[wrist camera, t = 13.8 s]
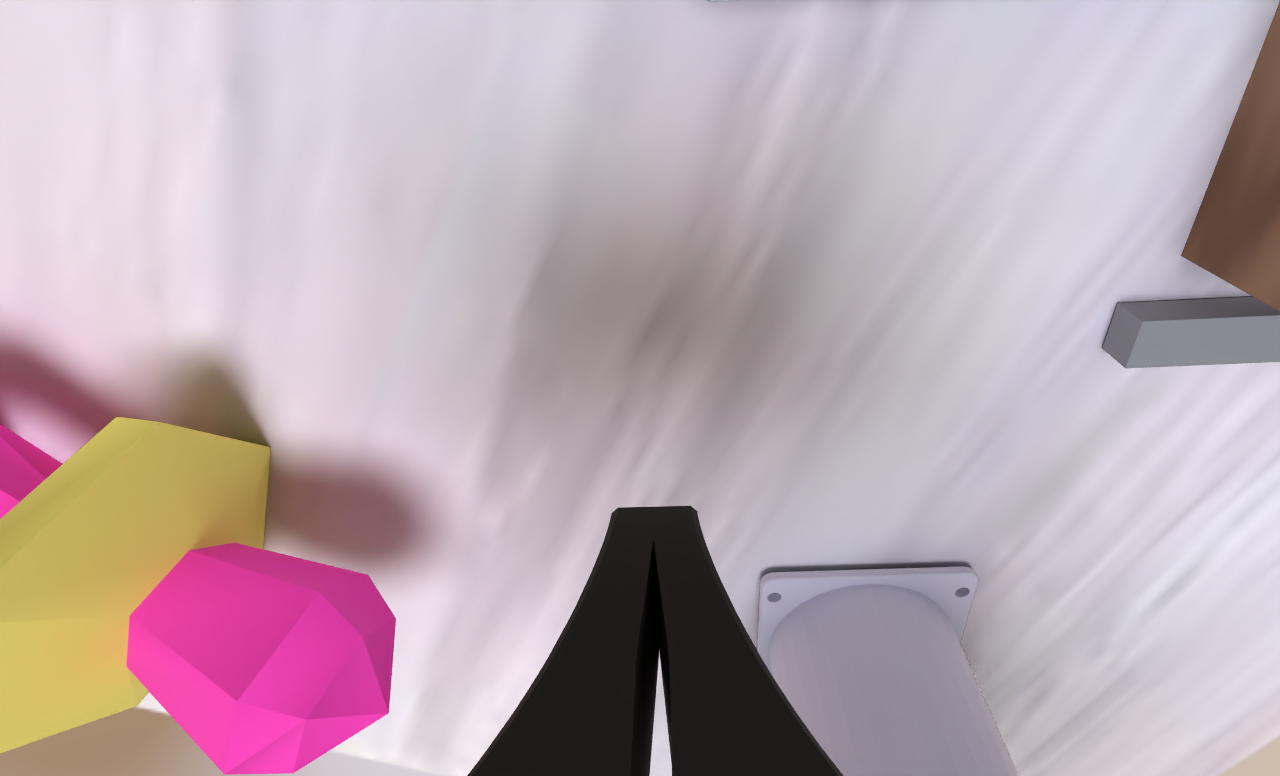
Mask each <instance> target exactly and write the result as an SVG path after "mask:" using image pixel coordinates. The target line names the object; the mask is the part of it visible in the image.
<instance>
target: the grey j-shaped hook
mask: <svg viewBox="0 0 1280 776" xmlns="http://www.w3.org/2000/svg"><path fill="white" fill-rule="evenodd" d="M707 1H709V2H719V1H734V0H707ZM1102 348H1103V349H1104V350H1105V351H1106V352H1107V353H1108V354H1110V355H1111V356H1112V357H1113V358H1114V359H1115V360H1116V361H1118V362H1119V363H1120V364H1121V365H1122V366H1123V367H1125V368H1144V367H1167V366H1191V365H1214V364H1237V363H1261V362H1280V311H1278V310H1276V309H1274V308H1273V307H1271V306H1269V305H1267V304H1266V303H1264V302H1262V301H1260V300H1259V299H1257V298H1255V297H1233V298H1212V299H1191V300H1169V301H1148V302H1127V303H1117V306H1116V309H1115V312H1114V315H1113V318H1112V321H1111V324H1110V327H1109V330H1108V333H1107V336H1106V338H1105V341H1104V344H1103V347H1102Z"/></svg>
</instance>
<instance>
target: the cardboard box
mask: <svg viewBox="0 0 1280 776" xmlns="http://www.w3.org/2000/svg"><path fill="white" fill-rule="evenodd" d="M1181 256H1183V257H1184V258H1186V259H1188V260H1190V261H1191V262H1193V263H1195V264H1197V265H1198V266H1200V267H1202V268H1204V269H1206V270H1207V271H1209V272H1211V273H1213V274H1214V275H1216V276H1218V277H1220V278H1221V279H1223V280H1225V281H1227V282H1229V283H1230V284H1232V285H1234V286H1236V287H1237V288H1239V289H1241V290H1243V291H1244V292H1246V293H1248V294H1250V295H1252V296H1253V297H1255V298H1257V299H1259V300H1260V301H1262V302H1264V303H1266V304H1267V305H1269V306H1271V307H1273V308H1274V309H1276V310H1278V311H1280V2H1279V5H1278V8H1277V10H1276V13H1275V15H1274V18H1273V21H1272V23H1271V26H1270V28H1269V31H1268V33H1267V36H1266V39H1265V41H1264V44H1263V46H1262V49H1261V51H1260V54H1259V57H1258V59H1257V62H1256V64H1255V67H1254V69H1253V72H1252V75H1251V77H1250V80H1249V82H1248V85H1247V87H1246V90H1245V93H1244V95H1243V98H1242V100H1241V103H1240V105H1239V108H1238V111H1237V113H1236V116H1235V118H1234V121H1233V123H1232V126H1231V129H1230V131H1229V134H1228V136H1227V139H1226V141H1225V144H1224V147H1223V149H1222V152H1221V154H1220V157H1219V160H1218V162H1217V165H1216V167H1215V170H1214V172H1213V175H1212V178H1211V180H1210V183H1209V185H1208V188H1207V190H1206V193H1205V196H1204V198H1203V201H1202V203H1201V206H1200V208H1199V211H1198V214H1197V216H1196V219H1195V221H1194V224H1193V226H1192V229H1191V232H1190V234H1189V237H1188V239H1187V242H1186V244H1185V247H1184V250H1183V252H1182V255H1181Z"/></svg>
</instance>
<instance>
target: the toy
mask: <svg viewBox="0 0 1280 776" xmlns="http://www.w3.org/2000/svg"><path fill="white" fill-rule="evenodd" d="M270 450H271V447H267V446H263V445H259V444H254V443H250V442H245V441H241V440H237V439H232V438H228V437H224V436H219V435H215V434H210V433H206V432H202V431H197V430H193V429H189V428H184V427H180V426H175V425H171V424H167V423H162V422H157V421H148V420H140V419H131V418H122V417H116V418H115V419H113V420H112V421H111V422H110V423H109V424H108V425H107V426H105V427H104V428H103V429H102V430H101V431H100V432H99V433H98V434H96V435H95V436H94V437H93V438H92V439H91V440H90V441H88V442H87V443H86V444H85V445H84V446H83V447H82V448H81V449H79V450H78V451H77V452H76V453H75V454H74V455H73V456H71V457H70V458H69V459H68V460H67V461H66V462H65V463H64V464H62V463H60V462H59V461H57V460H56V459H54V458H52V457H51V456H49V455H48V454H46V453H45V452H43V451H42V450H40V449H38V448H37V447H35V446H34V445H32V444H31V443H29V442H27V441H26V440H24V439H23V438H21V437H20V436H18V435H17V434H15V433H13V432H12V431H10V430H9V429H7V428H6V427H4V426H3V425H1V424H0V753H3V752H5V751H8V750H11V749H14V748H17V747H20V746H23V745H25V744H28V743H31V742H34V741H37V740H40V739H43V738H46V737H49V736H51V735H54V734H57V733H60V732H63V731H66V730H69V729H71V728H74V727H77V726H80V725H83V724H86V723H89V722H92V721H94V720H97V719H100V718H103V717H106V716H109V715H112V714H115V713H118V712H120V711H123V710H126V709H129V708H132V707H135V706H138V704H139V703H140V702H141V701H142V700H143V698H144V697H145V696H146V695H147V694H148V692H150V693H151V694H152V695H153V696H154V697H155V699H156V700H157V701H158V702H159V703H160V704H161V705H162V706H163V707H164V708H165V710H166V711H167V712H168V713H169V714H170V715H171V716H172V717H173V718H174V719H175V721H176V722H177V723H178V724H179V725H180V726H181V727H182V728H183V729H184V730H185V731H186V733H187V734H188V735H189V736H190V737H191V738H192V739H193V740H194V741H195V742H196V743H197V745H198V746H199V747H200V748H201V749H202V750H203V751H204V752H205V753H206V755H207V756H208V757H209V758H210V759H211V760H212V761H213V762H214V763H215V764H216V766H217V767H218V768H219V769H220V770H221V771H222V772H223V773H224V774H270V773H271V774H273V773H294V772H296V771H297V770H299V769H301V768H302V767H304V766H305V765H307V764H308V763H310V762H312V761H313V760H315V759H316V758H318V757H320V756H321V755H323V754H324V753H326V752H328V751H329V750H331V749H332V748H334V747H336V746H337V745H339V744H340V743H342V742H343V741H345V740H347V739H348V738H350V737H351V736H353V735H355V734H356V733H358V732H359V731H361V730H363V729H364V728H366V727H367V726H369V725H371V724H372V723H374V722H375V721H377V720H378V719H380V718H382V717H383V716H385V715H386V714H388V713H389V702H390V689H391V676H392V663H393V650H394V636H395V623H396V618H395V617H394V615H393V613H392V612H391V610H390V609H389V607H388V606H387V604H386V602H385V601H384V599H383V598H382V596H381V595H380V593H379V591H378V590H377V588H376V587H375V585H374V584H373V582H372V580H371V579H370V577H369V576H368V575H366V574H362V573H358V572H354V571H350V570H346V569H341V568H337V567H333V566H329V565H325V564H321V563H317V562H313V561H309V560H304V559H300V558H296V557H292V556H288V555H284V554H280V553H276V552H272V551H267V550H263V545H264V531H265V518H266V504H267V491H268V477H269V463H270Z"/></svg>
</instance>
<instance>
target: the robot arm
mask: <svg viewBox="0 0 1280 776" xmlns="http://www.w3.org/2000/svg"><path fill="white" fill-rule="evenodd" d="M977 584H978V577H977V575H976V573H975V571H974V570H973V569H972V568H970V567H964V566H962V567H929V568H896V569H863V570H830V571H797V572H772V573H768V574H766V575H764V576H763V577H762V578H761V581H760V598H759V619H758V640H757V649H756V647H755V646H754V644H753V642H752V640H751V639H750V637H749V635H748V633H747V632H746V630H745V628H744V626H743V624H742V622H741V620H740V619H739V617H738V615H737V613H736V611H735V609H734V607H733V605H732V603H731V601H730V599H729V596H728V594H727V592H726V590H725V588H724V586H723V584H722V582H721V580H720V578H719V575H718V573H717V571H716V568H715V566H714V564H713V561H712V559H711V556H710V554H709V551H708V548H707V546H706V543H705V540H704V537H703V534H702V531H701V527H700V523H699V519H698V514H697V511H696V510H695V509H694V508H692V507H691V506H667V507H629V508H617V509H616V510H615V511H614V512H613V513H612V515H611V519H610V523H609V527H608V530H607V533H606V536H605V539H604V542H603V545H602V547H601V550H600V553H599V555H598V558H597V560H596V563H595V565H594V568H593V570H592V572H591V575H590V577H589V579H588V581H587V583H586V585H585V587H584V590H583V592H582V594H581V596H580V598H579V600H578V603H577V605H576V607H575V609H574V611H573V613H572V615H571V617H570V619H569V620H568V622H567V624H566V626H565V628H564V630H563V631H562V633H561V635H560V637H559V639H558V641H557V642H556V644H555V646H554V648H553V650H552V652H551V653H550V655H549V657H548V659H547V660H546V662H545V664H544V665H543V667H542V669H541V670H540V672H539V674H538V675H537V677H536V679H535V680H534V682H533V683H532V685H531V687H530V688H529V690H528V691H527V693H526V694H525V696H524V697H523V699H522V700H521V702H520V703H519V705H518V707H517V708H516V710H515V711H514V713H513V714H512V715H511V717H510V718H509V720H508V721H507V722H506V724H505V725H504V727H503V728H502V729H501V731H500V732H499V734H498V735H497V737H496V738H495V739H494V741H493V742H492V744H491V745H490V746H489V748H488V749H487V751H486V752H485V753H484V755H483V756H482V757H481V759H480V760H479V761H478V763H477V764H476V765H475V766H474V768H473V769H472V770H471V772H470V773H469V774H468V776H649V773H650V761H651V748H652V735H653V723H654V710H655V698H656V685H657V672H658V659H659V650H660V659H661V669H662V678H663V687H664V697H665V706H666V715H667V724H668V734H669V743H670V752H671V761H672V776H1019V775H1018V772H1017V770H1016V768H1015V766H1014V763H1013V761H1012V759H1011V757H1010V754H1009V752H1008V750H1007V748H1006V746H1005V743H1004V741H1003V739H1002V737H1001V734H1000V732H999V730H998V728H997V725H996V723H995V721H994V719H993V716H992V714H991V712H990V710H989V708H988V705H987V703H986V701H985V699H984V696H983V694H982V692H981V690H980V687H979V685H978V683H977V681H976V679H975V676H974V674H973V672H972V670H971V667H970V665H969V663H968V661H967V658H966V656H965V654H964V652H963V649H962V647H961V645H960V642H961V638H962V635H963V632H964V628H965V625H966V621H967V618H968V615H969V611H970V608H971V604H972V601H973V598H974V594H975V591H976V587H977ZM772 593H776V594H772Z"/></svg>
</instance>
